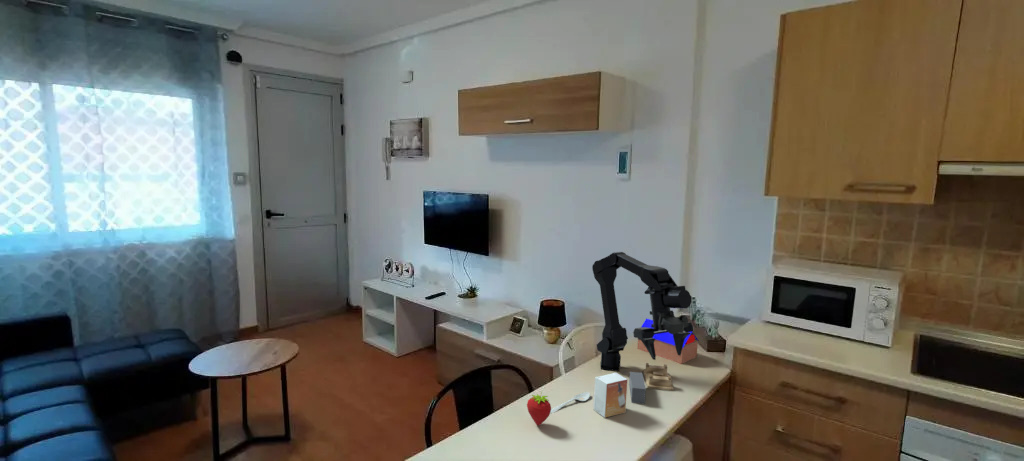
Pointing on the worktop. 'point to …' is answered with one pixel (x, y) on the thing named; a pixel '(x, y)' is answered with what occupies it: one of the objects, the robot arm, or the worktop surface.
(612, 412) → the small box
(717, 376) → the worktop surface
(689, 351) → the house
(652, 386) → the display stand
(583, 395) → the spoon
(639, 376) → the grey rectangular block
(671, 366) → the worktop surface
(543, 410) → the strawberry
